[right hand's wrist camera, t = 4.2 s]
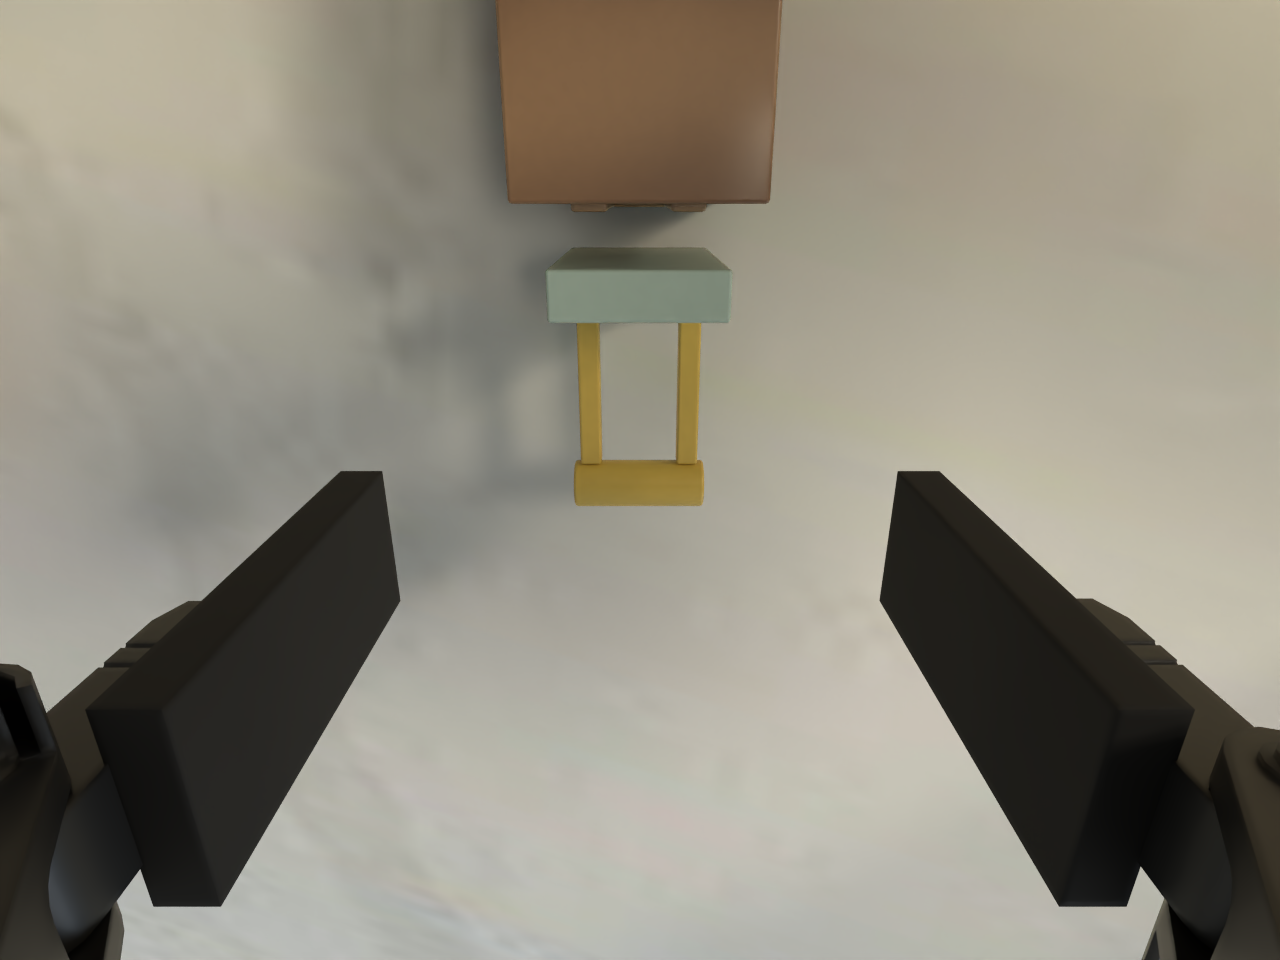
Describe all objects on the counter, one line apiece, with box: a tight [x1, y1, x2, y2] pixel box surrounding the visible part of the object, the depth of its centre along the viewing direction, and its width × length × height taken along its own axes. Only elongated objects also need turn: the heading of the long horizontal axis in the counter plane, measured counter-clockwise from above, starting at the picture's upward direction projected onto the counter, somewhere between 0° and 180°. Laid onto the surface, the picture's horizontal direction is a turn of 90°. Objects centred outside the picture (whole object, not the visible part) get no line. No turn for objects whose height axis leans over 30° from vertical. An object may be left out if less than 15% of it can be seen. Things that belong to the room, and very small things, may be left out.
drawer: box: [545, 204, 732, 506], centre depth 18 cm, size 25×4×7 cm, turn 0°
